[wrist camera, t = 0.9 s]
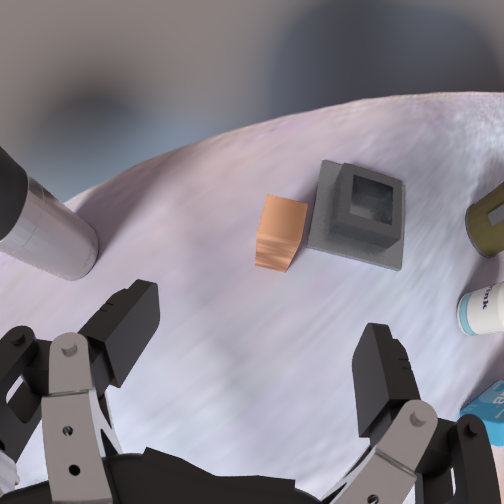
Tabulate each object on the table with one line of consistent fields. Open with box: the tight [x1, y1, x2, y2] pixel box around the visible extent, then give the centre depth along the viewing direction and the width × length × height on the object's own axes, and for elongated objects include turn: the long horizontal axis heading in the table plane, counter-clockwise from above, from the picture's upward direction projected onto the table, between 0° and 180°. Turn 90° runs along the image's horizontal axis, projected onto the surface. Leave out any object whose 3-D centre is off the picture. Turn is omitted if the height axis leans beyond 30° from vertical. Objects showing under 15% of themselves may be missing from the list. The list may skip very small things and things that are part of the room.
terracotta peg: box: [255, 194, 308, 272], centre depth 32 cm, size 4×4×12 cm
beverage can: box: [457, 281, 504, 336], centre depth 29 cm, size 7×7×12 cm
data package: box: [460, 379, 504, 447], centre depth 25 cm, size 12×4×12 cm, turn 106°
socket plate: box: [306, 160, 405, 271], centre depth 37 cm, size 14×14×5 cm
